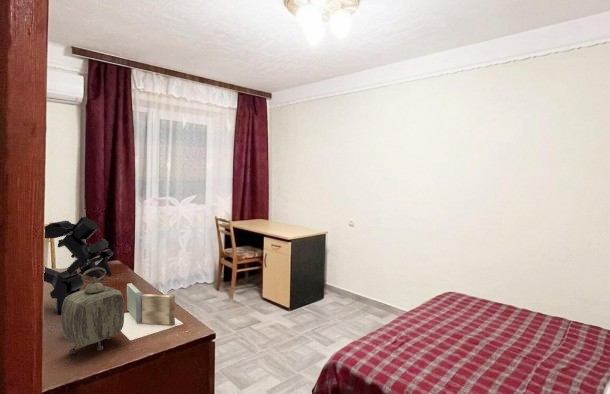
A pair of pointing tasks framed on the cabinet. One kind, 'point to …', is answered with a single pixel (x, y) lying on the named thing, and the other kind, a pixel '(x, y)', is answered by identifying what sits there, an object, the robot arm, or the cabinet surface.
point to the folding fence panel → (134, 302)
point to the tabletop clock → (92, 313)
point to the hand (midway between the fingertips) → (107, 277)
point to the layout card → (142, 327)
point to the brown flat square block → (158, 309)
